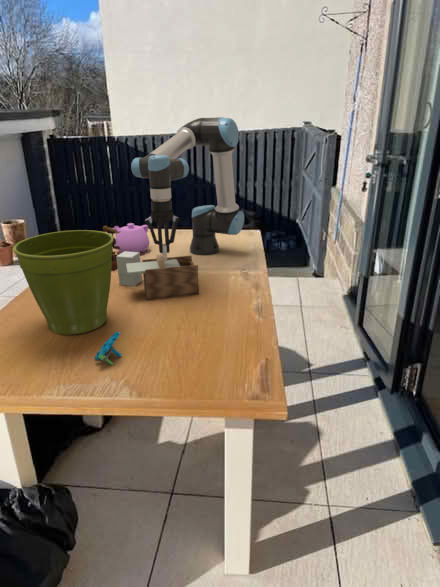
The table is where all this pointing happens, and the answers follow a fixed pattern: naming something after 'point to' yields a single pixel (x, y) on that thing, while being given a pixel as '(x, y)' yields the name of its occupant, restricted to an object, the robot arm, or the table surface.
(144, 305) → the table surface
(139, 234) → the pink piggy bank
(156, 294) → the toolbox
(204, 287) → the table surface
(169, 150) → the robot arm
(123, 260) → the supplement box
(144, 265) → the lid
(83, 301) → the plant pot
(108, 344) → the blue angular piece
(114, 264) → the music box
